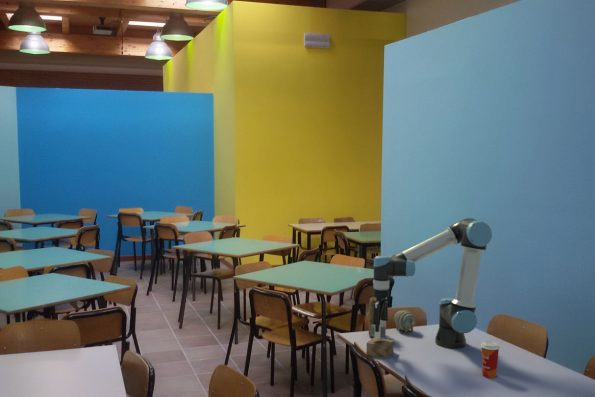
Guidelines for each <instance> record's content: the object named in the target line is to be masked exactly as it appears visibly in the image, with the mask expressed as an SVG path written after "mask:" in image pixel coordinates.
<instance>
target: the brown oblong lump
mask: <svg viewBox="0 0 595 397" xmlns="http://www.w3.org/2000/svg"><path fill="white" fill-rule="evenodd" d="M376 299H377V298H376V297H374V296H373V297H370V298H369V303H368V305H369V306H368V336H369V337H370V338H374V337H373V336H371V335H370V331H371V325H374V324H373V314H374V303H376Z"/></svg>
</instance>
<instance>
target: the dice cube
mask: <svg viewBox="0 0 595 397" xmlns="http://www.w3.org/2000/svg"><path fill="white" fill-rule="evenodd" d="M380 325H381V324H380ZM370 335H371V336H373V337H372V338H374V337H375V325H371V331H370ZM371 336H370V337H371ZM385 337H386V334H385V326H383V325H381V338H385Z"/></svg>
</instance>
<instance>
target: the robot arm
mask: <svg viewBox="0 0 595 397" xmlns="http://www.w3.org/2000/svg"><path fill="white" fill-rule="evenodd" d="M492 238H493V230H492V229H491V227H490V225H488V224H487V223H486V222H485V221H483V220H480V219H475V218H471V217H468V218H467V217H466V218H463V219H461V220H459V221H457V222H455V223H453V224H451V225H449V226H447V227H446V229H445V230H444V231H442V232H440V233H438V234H436V235H434V236H432V237H430V238H428V239H426V240H424V241H421V242H419V243H418V244H416V245H414V246H412V247H410V248H408V249H406V250H403V251H402V252H400V253H398V254H391V255H389V256H388V255H376V256H375V257H374V258H373V264H372V265H373V280H372V283H373V287H372V288H373V291H372V295H373V297H376V298H377V299H376V303H374V314H373V324H374V325H375V338H378V339H380V338H382V337H381V325H383V326H385V335H386V333H387V332H386V331H387V322H388V321H389V313H388V312H389V308H388V306H389V305H388V304H389V302H388V301H389V297H390V278H391V277H406V278H407V277H413V276H415V273H416V263H417V262H420V261H422V260H423V259H425V258H427V257H429V256H431V255H433V254H435V253H437V252H440V251H442V250H443V249H445V248H447V247H449V246H452V245H458V244H460V247H461V248H462V256H461V260H460V261H461V262H460V267H459V274H458V278H457V279H458V280H457V285H456V291H455V297H444V298H443V297H442V298H441V299H440V300H439V304H438V305H439V312H438V314H439V316H438V317H439V318H438V320H439V322H438V330H437V333H436V335H435V339H434V342H435V344H436V345H438V346H439V347H444V348H448V349H449V348H450V349H452V348H453V349H458V348H459V349H460V348H464V347H466V346H467V339H466V335H465V334H469V333H470V332H472V331H473V330H475V328H476V327H477V324H478V318H477V315H476V309H477V305H476V304H475V302H474V300H475V296H476V294H475V293H476V289H477V283H478V277H479V270H480V265H481V260H482V255H483V253H484V252H485V251H486V250H487V246H488V244H490V242H491V241H492ZM380 324H381V325H380Z"/></svg>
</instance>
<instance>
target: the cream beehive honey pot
mask: <svg viewBox="0 0 595 397" xmlns="http://www.w3.org/2000/svg"><path fill="white" fill-rule="evenodd" d="M393 316H394V317H393V320H394V323H395V327H396V328H395V329H396V330H401V331H404V334H407V333H408V331H409V330H410V333H413V332H414V326H416V318H415V316H414V315H413V313H412V312H410V311H409V310H398V311H397V312H395V314H394V315H393Z"/></svg>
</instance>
